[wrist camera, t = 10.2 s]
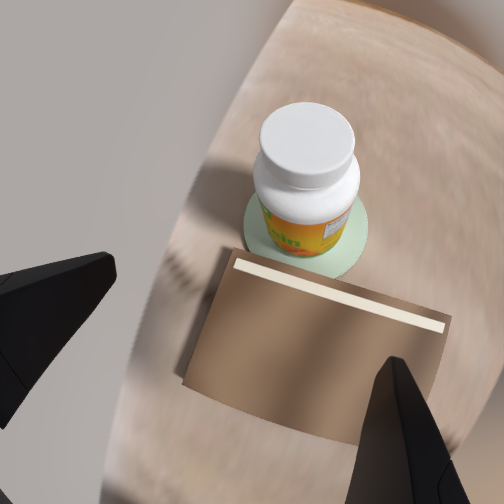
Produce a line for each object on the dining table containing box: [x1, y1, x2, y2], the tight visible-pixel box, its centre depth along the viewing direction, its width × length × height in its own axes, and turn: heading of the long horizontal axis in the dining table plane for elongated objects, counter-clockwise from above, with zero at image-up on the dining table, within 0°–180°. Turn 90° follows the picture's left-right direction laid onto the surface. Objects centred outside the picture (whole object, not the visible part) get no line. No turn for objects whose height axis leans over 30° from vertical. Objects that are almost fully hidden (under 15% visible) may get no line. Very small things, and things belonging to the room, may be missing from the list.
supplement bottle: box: [253, 102, 360, 259], centre depth 15 cm, size 5×5×10 cm
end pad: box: [243, 191, 368, 279], centre depth 20 cm, size 9×9×1 cm
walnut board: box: [182, 247, 452, 446], centre depth 17 cm, size 16×10×1 cm, turn 69°
